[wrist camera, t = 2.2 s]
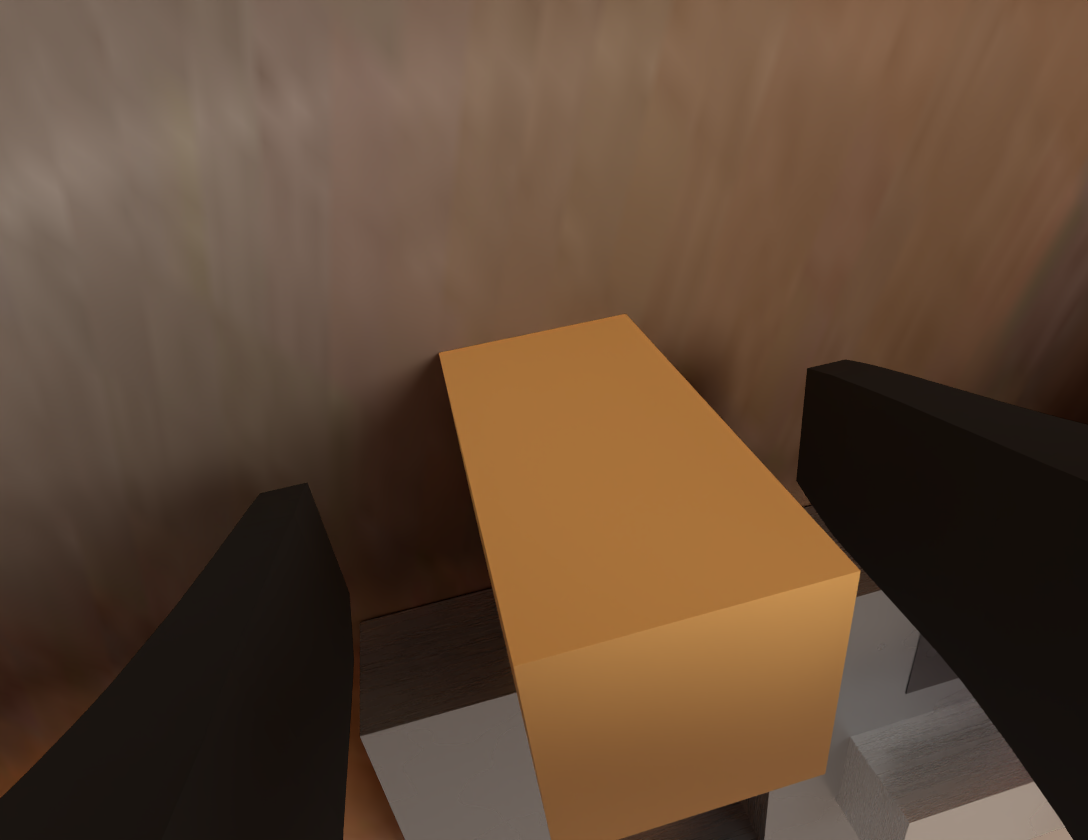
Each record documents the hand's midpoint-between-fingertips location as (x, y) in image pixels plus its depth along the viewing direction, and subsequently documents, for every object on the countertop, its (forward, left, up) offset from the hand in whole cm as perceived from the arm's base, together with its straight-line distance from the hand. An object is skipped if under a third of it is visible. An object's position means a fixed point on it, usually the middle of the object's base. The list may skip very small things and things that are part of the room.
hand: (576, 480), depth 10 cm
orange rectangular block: (0, 0, -2) cm, 2 cm away
